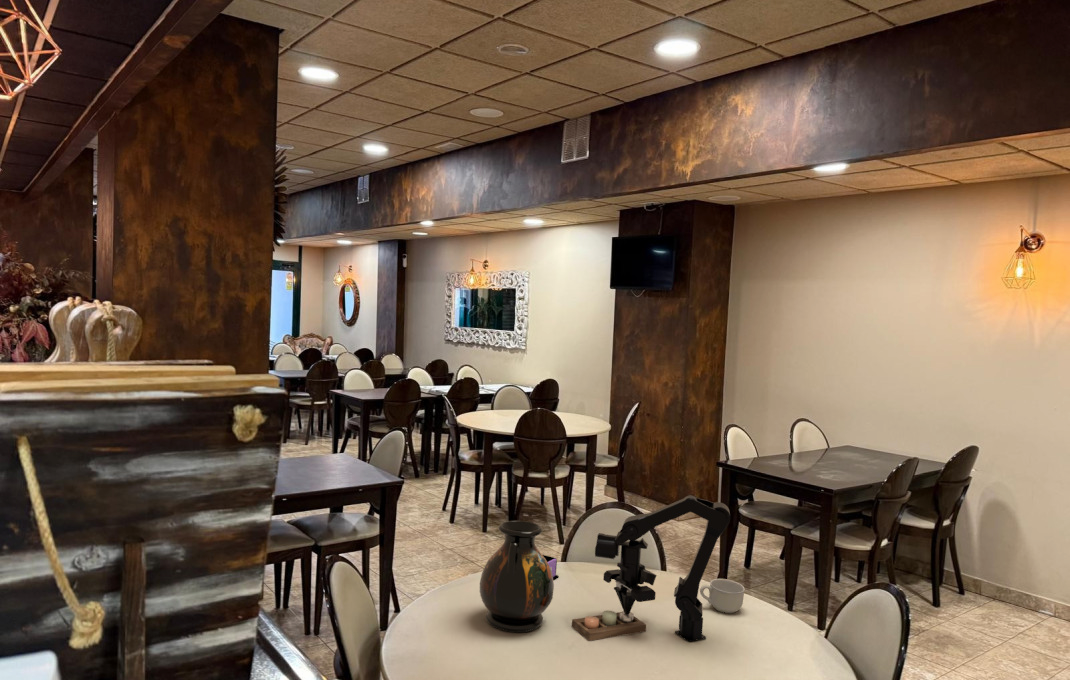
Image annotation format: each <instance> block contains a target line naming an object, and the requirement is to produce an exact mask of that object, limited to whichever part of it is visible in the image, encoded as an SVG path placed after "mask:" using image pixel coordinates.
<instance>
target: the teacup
mask: <svg viewBox="0 0 1070 680" xmlns="http://www.w3.org/2000/svg"><path fill="white" fill-rule="evenodd" d="M709 584H710V585H708V584H703V585H702V586H701V587H699V593H700V595H701V597H702V598H703V599H704V600H706V601H707V602H708V603H709V604H710V605H711V606H713V608H714V609H715V610H716V611H718V612H719V613H720V612H721V613H724V612H725V613H726V614H733V613H736V612H737V611H739V610H741V608H743V607H742V606H743V604H744V603H743V602H744V596H745V591H746V589H745V587H744V585H742V584H741V583H739V582H737V581H735V580H731V579H726V578H715V579H712V580H710V582H709ZM706 589H707V590H708V593H709V594H708V596H709V597H708V596H707V595H705V593H704V591H705V590H706ZM725 613H724V614H725Z"/></svg>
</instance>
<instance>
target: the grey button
mask: <svg viewBox="0 0 1070 680" xmlns="http://www.w3.org/2000/svg"><path fill="white" fill-rule="evenodd" d="M619 612H620V619H619V621H621V622H622V623H624V624H626V623H632V622H633V616H634V613H633V612H631V611H630V613H629V614H627V615H626V614H625V613H624V611H623V610H622V611H619ZM634 617H635V616H634Z"/></svg>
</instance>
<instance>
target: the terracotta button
mask: <svg viewBox="0 0 1070 680" xmlns="http://www.w3.org/2000/svg"><path fill="white" fill-rule="evenodd" d="M593 616H594V615H588V616H585V617H584V618H585V624H584V626H585V627H586V628H587V629H595V628H598V626H599V619H598V618H596V617H593Z"/></svg>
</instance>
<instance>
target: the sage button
mask: <svg viewBox="0 0 1070 680" xmlns="http://www.w3.org/2000/svg"><path fill="white" fill-rule="evenodd" d="M617 613H618V612H616V611H613V610H604V611H602V615H603V617H602V624H604V625H605V626H606V627H607V626H613V625H616V617H617Z"/></svg>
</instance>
